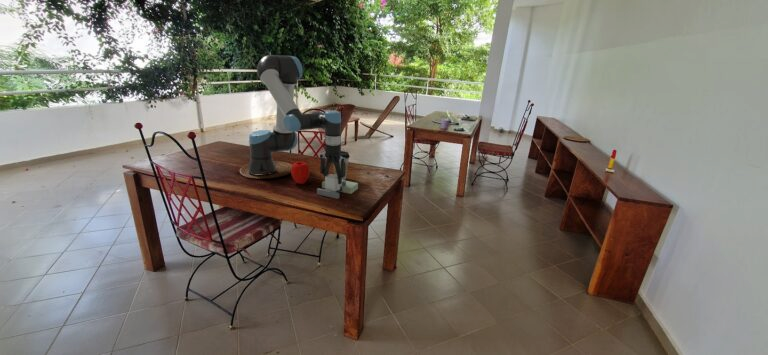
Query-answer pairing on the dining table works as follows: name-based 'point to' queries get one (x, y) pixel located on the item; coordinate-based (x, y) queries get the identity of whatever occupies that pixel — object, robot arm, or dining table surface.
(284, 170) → the dining table surface
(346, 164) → the coffee cup
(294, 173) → the apple
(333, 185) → the gray rectangular prism
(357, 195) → the dining table surface
